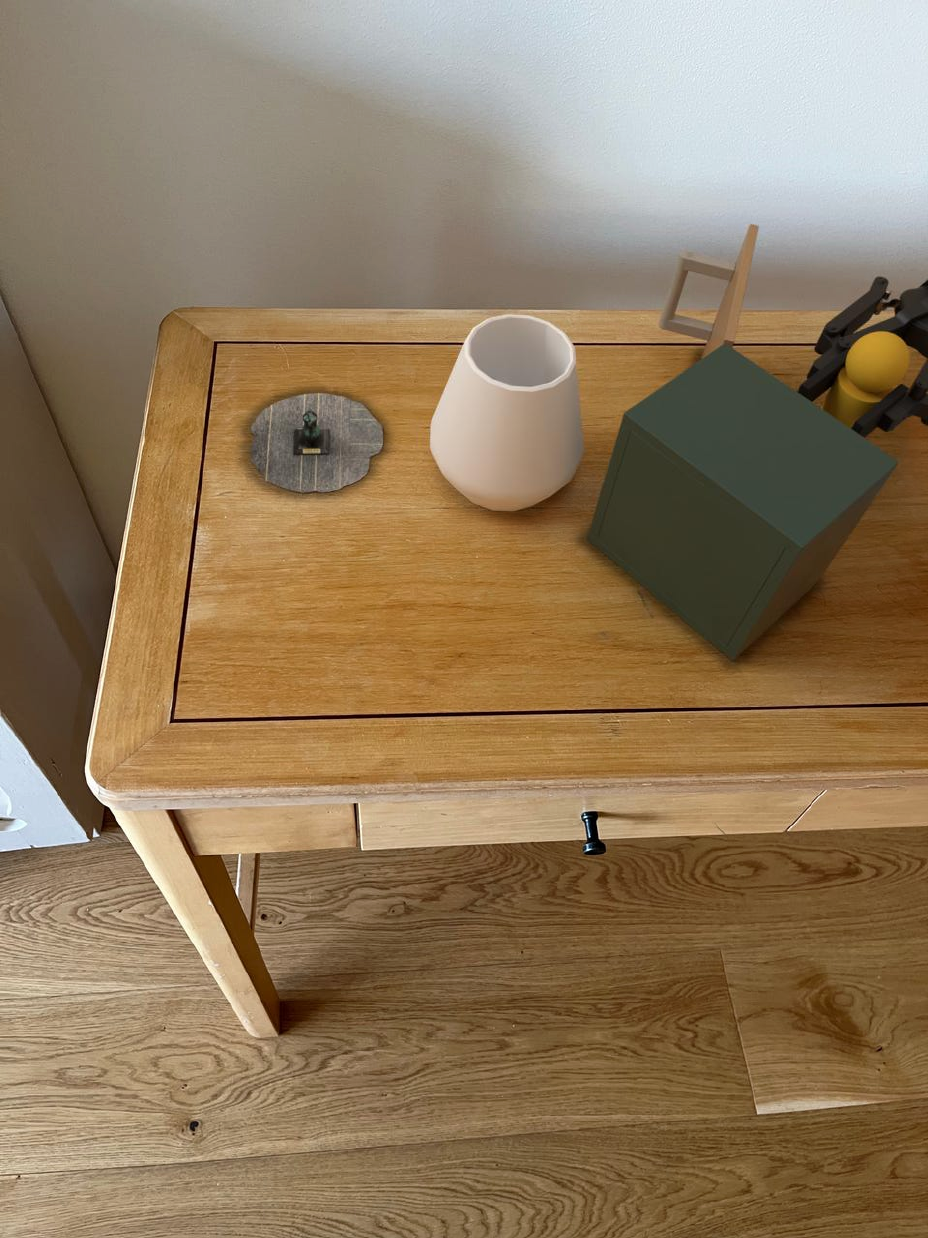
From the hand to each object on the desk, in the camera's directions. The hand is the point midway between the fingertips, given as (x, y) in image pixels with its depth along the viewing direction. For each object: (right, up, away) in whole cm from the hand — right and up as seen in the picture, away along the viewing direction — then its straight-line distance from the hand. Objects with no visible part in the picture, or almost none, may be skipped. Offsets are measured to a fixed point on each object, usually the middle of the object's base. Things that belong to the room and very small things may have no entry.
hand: (825, 417), depth 72 cm
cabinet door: (-9, +5, +17) cm, 20 cm away
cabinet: (-8, -11, +7) cm, 15 cm away
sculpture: (-42, 0, +11) cm, 43 cm away
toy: (+3, 0, +7) cm, 8 cm away
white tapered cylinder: (-25, -3, +11) cm, 27 cm away
